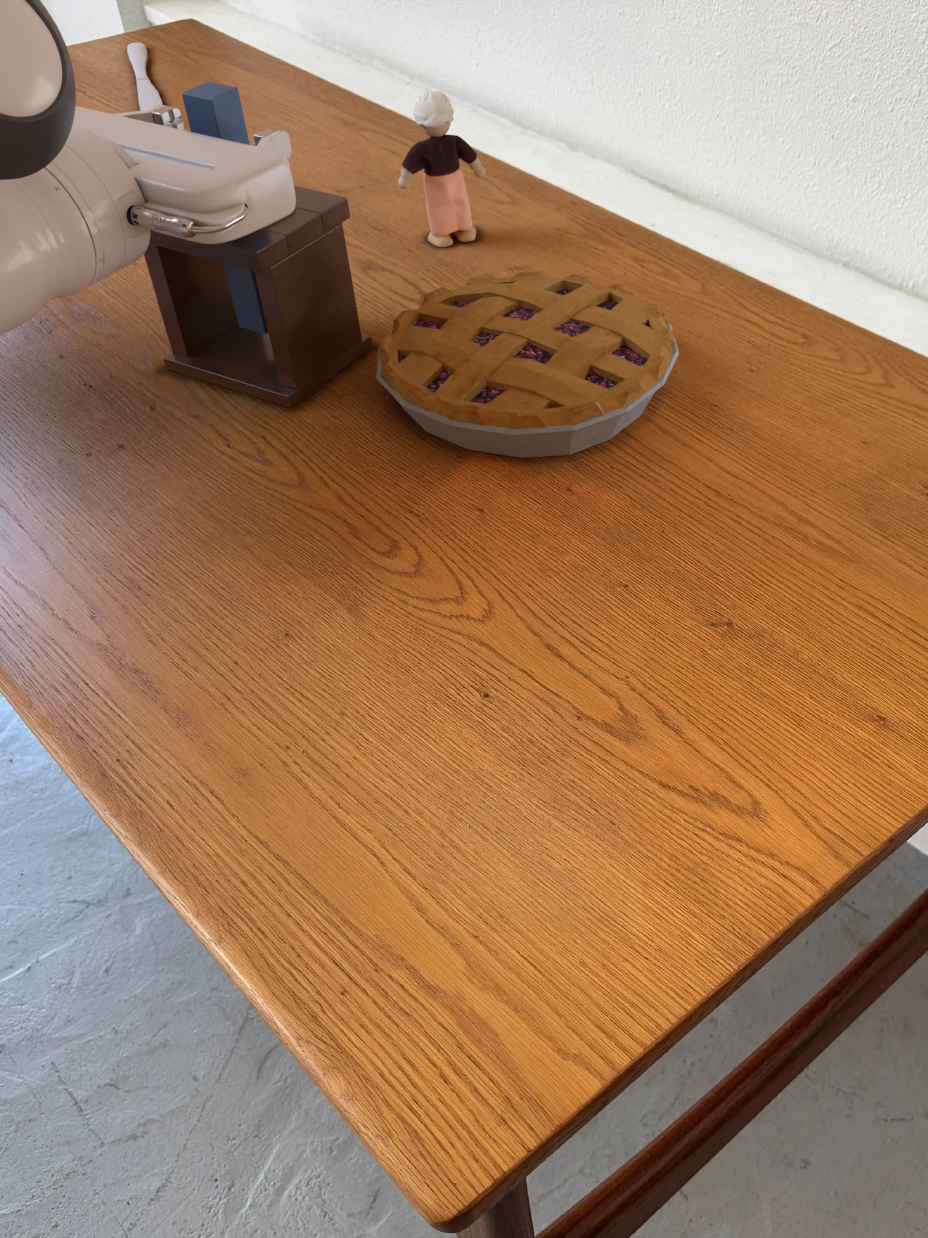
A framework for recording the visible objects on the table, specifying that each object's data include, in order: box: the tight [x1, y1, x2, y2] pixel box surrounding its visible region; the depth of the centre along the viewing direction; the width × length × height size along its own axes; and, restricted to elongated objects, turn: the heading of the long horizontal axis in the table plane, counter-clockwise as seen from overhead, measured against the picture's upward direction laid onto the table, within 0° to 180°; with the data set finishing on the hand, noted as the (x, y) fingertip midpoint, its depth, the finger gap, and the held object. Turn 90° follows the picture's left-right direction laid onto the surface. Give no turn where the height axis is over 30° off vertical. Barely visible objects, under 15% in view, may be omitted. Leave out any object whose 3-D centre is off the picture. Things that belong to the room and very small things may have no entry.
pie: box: [375, 271, 680, 459], centre depth 91 cm, size 22×22×5 cm
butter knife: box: [126, 41, 164, 111], centre depth 140 cm, size 1×27×3 cm
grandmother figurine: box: [397, 90, 487, 248], centre depth 107 cm, size 8×4×13 cm, turn 126°
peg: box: [181, 81, 268, 334], centre depth 88 cm, size 6×6×17 cm
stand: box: [143, 184, 373, 409], centre depth 92 cm, size 10×12×12 cm
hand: (227, 128), depth 85 cm, fingers open, 8 cm apart
